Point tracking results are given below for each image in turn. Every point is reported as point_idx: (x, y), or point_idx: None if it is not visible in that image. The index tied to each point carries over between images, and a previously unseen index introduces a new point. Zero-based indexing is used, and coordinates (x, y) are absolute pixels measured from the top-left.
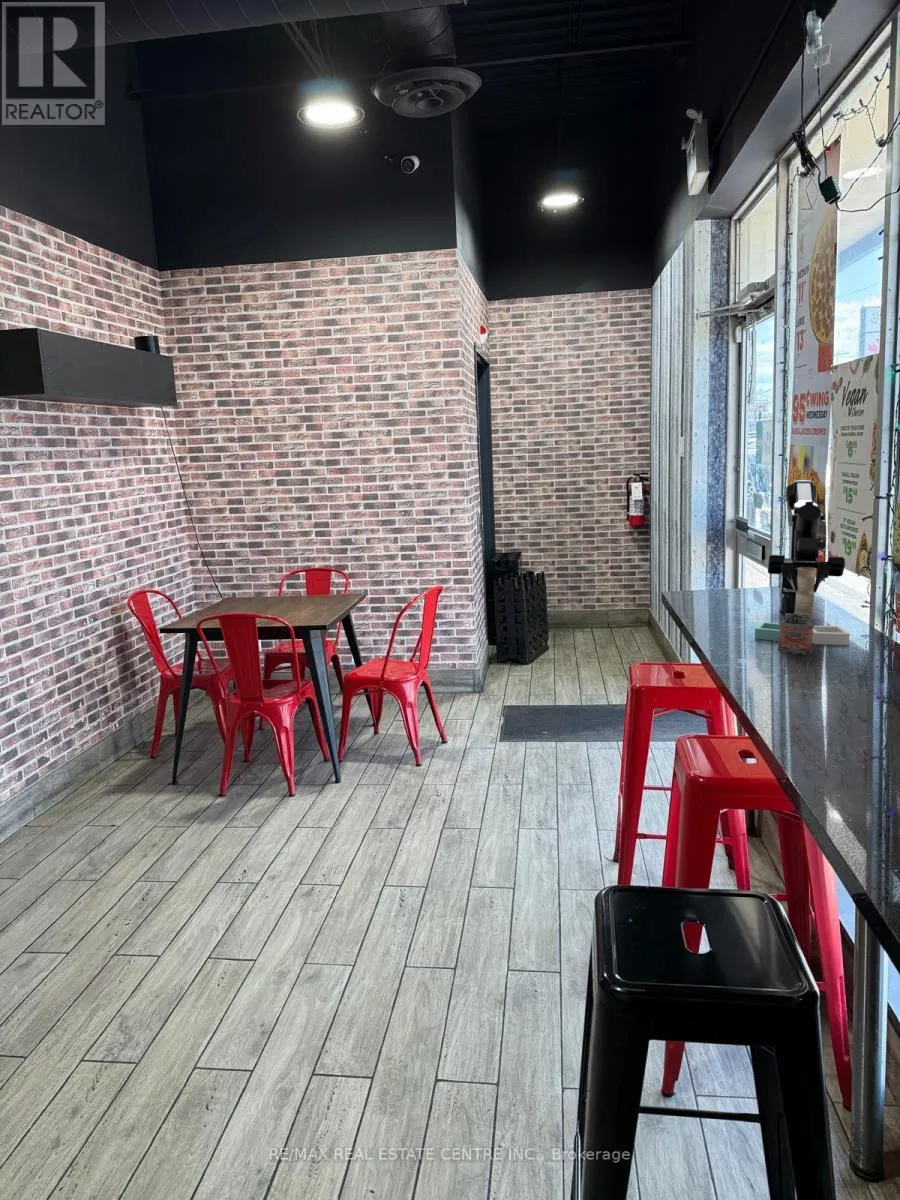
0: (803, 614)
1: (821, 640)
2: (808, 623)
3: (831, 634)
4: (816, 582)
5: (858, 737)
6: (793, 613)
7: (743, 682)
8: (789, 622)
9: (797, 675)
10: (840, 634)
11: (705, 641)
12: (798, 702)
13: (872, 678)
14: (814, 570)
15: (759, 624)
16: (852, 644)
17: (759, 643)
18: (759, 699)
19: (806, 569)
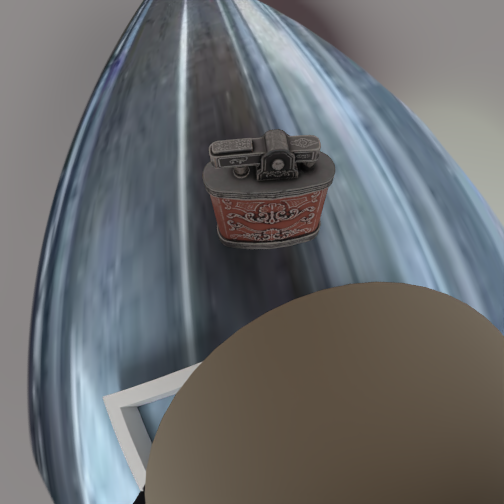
0: (242, 142)
1: None
2: (224, 180)
3: (162, 377)
4: None
5: (159, 4)
6: (288, 149)
7: (294, 38)
8: (297, 165)
9: (226, 77)
10: (132, 387)
11: (491, 225)
12: (212, 20)
13: (101, 120)
14: (169, 413)
15: None
16: None
17: (390, 275)
18: (255, 14)
19: (351, 303)
